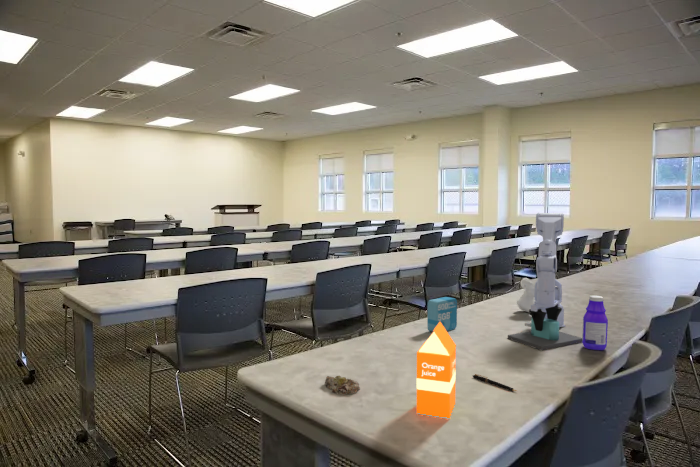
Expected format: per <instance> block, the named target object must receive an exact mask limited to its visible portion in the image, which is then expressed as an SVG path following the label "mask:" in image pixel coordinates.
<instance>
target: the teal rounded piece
mask: <svg viewBox="0 0 700 467" xmlns="http://www.w3.org/2000/svg"><path fill="white" fill-rule="evenodd" d="M530 319H531V320H530V321H531V322H530V321H529V322H528V321H527V322H524V326H525V327H528V328H530V331H531V335H533V336H537V337H541V338H545V339H549V340H559V331H560V327H559V321H555V320H551V319H546V318H544V322H543V329H542V331H537V330H536V329H535V325H534V321H533V318H532V316H531V318H530Z"/></svg>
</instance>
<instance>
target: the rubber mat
mask: <svg viewBox="0 0 700 467" xmlns="http://www.w3.org/2000/svg"><path fill="white" fill-rule="evenodd" d="M507 339H509V340H511V341H514V342H517V343H520V344H522V345H523V344H524V345H526V346H529V347H532V348H535V349H537V350H540V351H543V350H548V349H554V348H559V347H564V346H570V345H574V343H575V344H579V342H580V343H582V337H580V336H576V335H572V334H569V333H567V332H566V333H565V332H563V331H560V330H559V340H549V339H545V338H541V337H537V336H533V335H531V330H530V331H524V332H523V331H522V332H518V333H513V334H508V335H507Z"/></svg>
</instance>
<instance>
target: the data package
mask: <svg viewBox="0 0 700 467" xmlns="http://www.w3.org/2000/svg"><path fill="white" fill-rule="evenodd" d="M426 318H427V321H426V322H427V327H426V329H427V330H428V331H429V332H430V333H432V332H434V331H433V330H434V329H435V327H436V326H437V325H438V323H439V322H441V323H442V325H443V326H444V328H445V329H446V331H447V332H449V331H452V330H456V329H457V326H458V300H457V299H456V298H454V297H450V296H444V297H438V298H433V299H429V300H428V301H427V317H426Z"/></svg>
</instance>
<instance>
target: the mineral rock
mask: <svg viewBox="0 0 700 467" xmlns="http://www.w3.org/2000/svg"><path fill="white" fill-rule="evenodd" d="M324 386H325V387H326V388H327V389H329V390H331V392H332V393H334V394H336V395H337V394H338V395H343V396H345V395H350V394H354V393H357V392H358V390H359V391H360V390H361V388H360V383H359V381H355V380H353V379H351V378H346V376H340V375H337V376H335V377H334V376H326V378H325V380H324Z"/></svg>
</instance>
